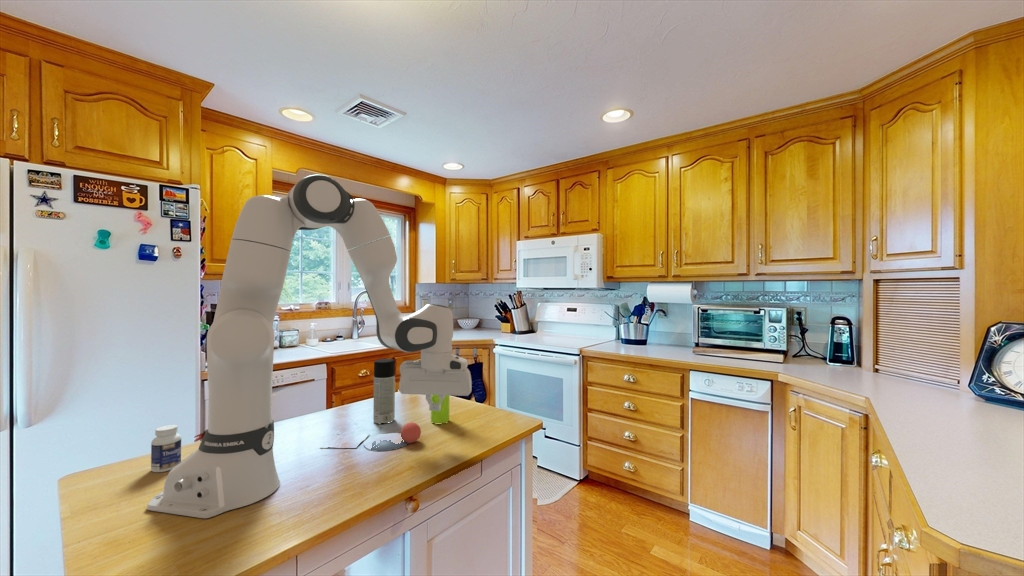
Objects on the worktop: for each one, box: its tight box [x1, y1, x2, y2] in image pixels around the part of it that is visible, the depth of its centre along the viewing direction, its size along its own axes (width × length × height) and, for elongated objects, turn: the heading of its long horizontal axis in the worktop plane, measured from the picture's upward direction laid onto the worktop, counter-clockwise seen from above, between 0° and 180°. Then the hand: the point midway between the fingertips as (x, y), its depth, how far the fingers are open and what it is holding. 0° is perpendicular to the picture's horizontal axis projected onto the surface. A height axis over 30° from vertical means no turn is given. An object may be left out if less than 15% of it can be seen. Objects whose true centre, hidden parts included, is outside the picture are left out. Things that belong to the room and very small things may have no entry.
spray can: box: [372, 358, 396, 424], centre depth 126 cm, size 7×7×20 cm
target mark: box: [370, 440, 409, 452], centre depth 109 cm, size 13×13×1 cm
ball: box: [400, 421, 422, 444], centre depth 108 cm, size 6×6×6 cm
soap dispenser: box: [430, 395, 450, 424], centre depth 126 cm, size 6×7×20 cm
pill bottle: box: [150, 424, 182, 473], centre depth 92 cm, size 5×5×10 cm
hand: (435, 410), depth 109 cm, fingers closed
